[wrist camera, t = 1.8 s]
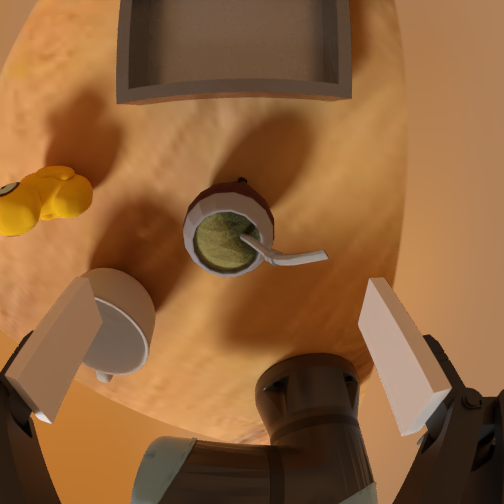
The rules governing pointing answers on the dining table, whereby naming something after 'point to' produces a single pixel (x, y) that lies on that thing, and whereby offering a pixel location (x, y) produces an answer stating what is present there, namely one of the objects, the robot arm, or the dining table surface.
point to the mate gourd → (234, 232)
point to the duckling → (43, 199)
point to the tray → (233, 50)
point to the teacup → (119, 324)
